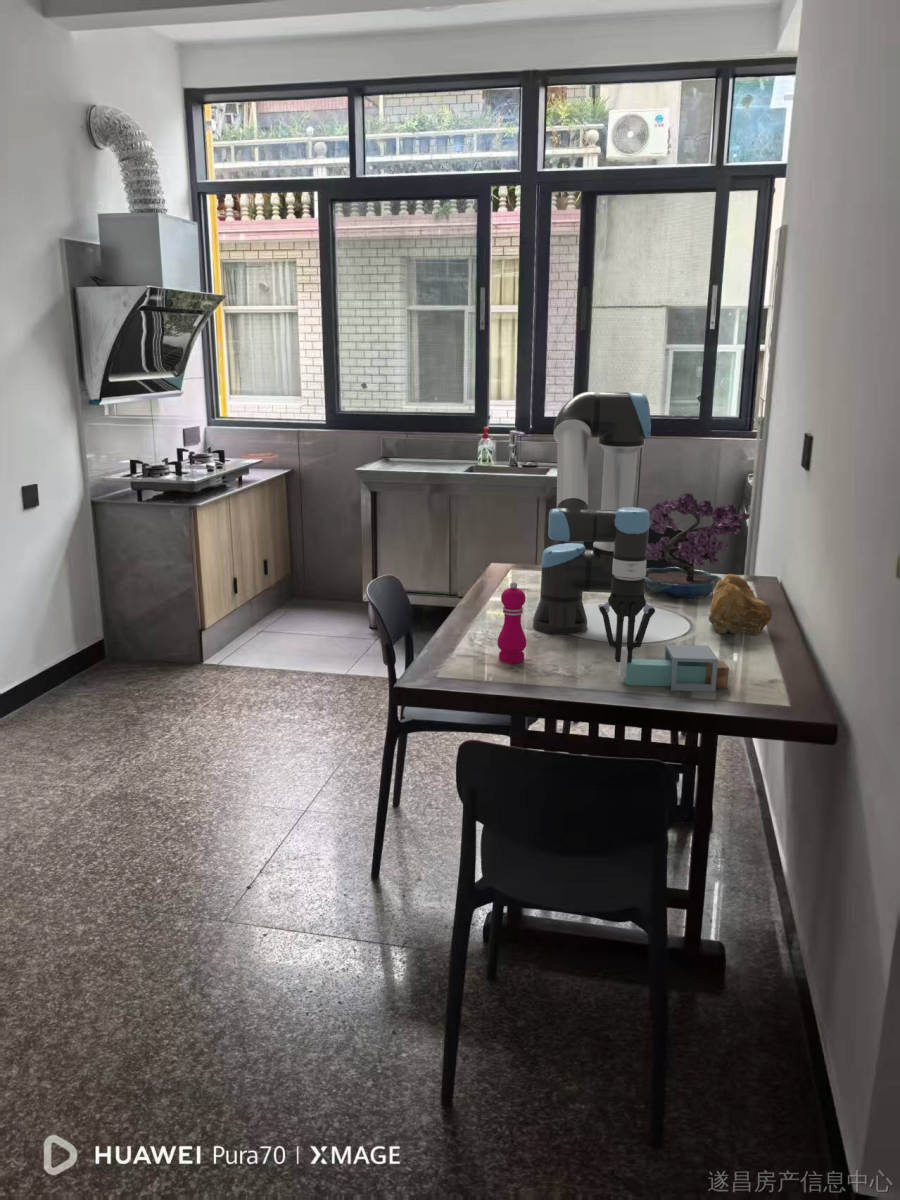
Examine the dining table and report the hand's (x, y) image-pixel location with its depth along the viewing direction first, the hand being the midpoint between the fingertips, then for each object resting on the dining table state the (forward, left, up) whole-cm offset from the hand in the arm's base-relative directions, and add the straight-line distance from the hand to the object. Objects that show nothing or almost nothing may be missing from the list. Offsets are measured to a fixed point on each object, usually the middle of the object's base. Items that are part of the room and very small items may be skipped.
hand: (622, 675), depth 213 cm
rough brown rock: (+38, +46, -2) cm, 60 cm away
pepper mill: (-26, +14, -2) cm, 29 cm away
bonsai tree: (+32, +88, -2) cm, 94 cm away
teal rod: (+10, 0, -2) cm, 10 cm away
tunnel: (+15, 0, -2) cm, 16 cm away
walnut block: (+21, 0, -2) cm, 21 cm away
